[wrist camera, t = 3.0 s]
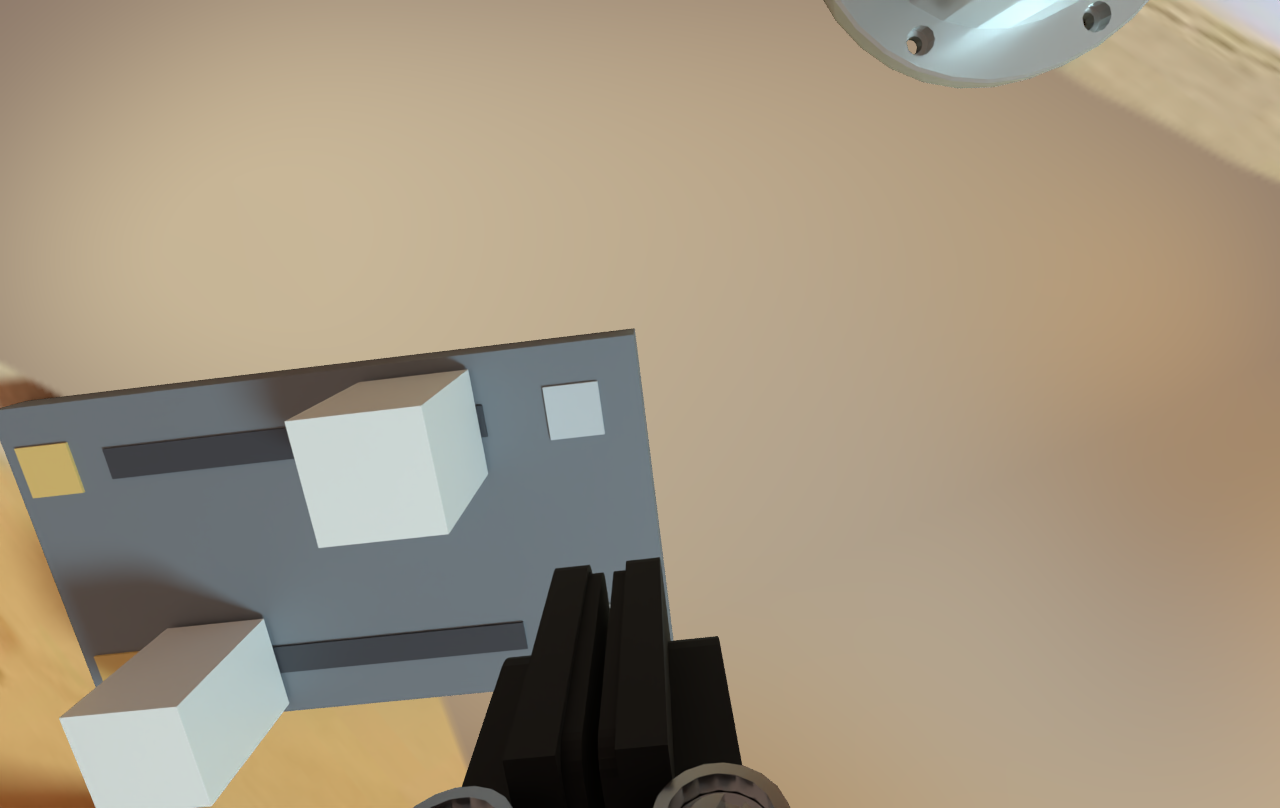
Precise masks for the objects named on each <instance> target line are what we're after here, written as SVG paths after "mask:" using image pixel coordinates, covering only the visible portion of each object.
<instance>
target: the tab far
mask: <svg viewBox="0 0 1280 808" xmlns="http://www.w3.org/2000/svg"><path fill="white" fill-rule="evenodd" d="M288 705H289V701H288V697H287V694H286V691H285V688H284V684H283V681H282V678H281V674H280V671H279V668H278V664H277V661H276V658H275V654H274V651H273V648H272V645H271V641H270V638H269V635H268V631H267V628H266V625H265V621H264V619H256V620H246V621H236V622H226V623H216V624H207V625H197V626H187V627H177V628H167V629H166V630H165V631H163V632H162V633H161V634H160V635H159V636H157V637H156V638H155V639H154V640H153V641H151V642H150V643H149V644H148V645H147V646H145V647H144V648H143V649H142V650H141V651H139V652H138V653H137V654H136V655H134V656H133V657H132V658H131V659H130V660H128V661H127V662H126V663H125V664H124V665H122V666H121V667H120V668H119V669H118V670H116V671H115V672H114V673H113V674H112V675H110V676H109V677H108V678H107V679H106V680H104V681H103V682H102V683H101V684H100V685H98V686H97V687H96V688H95V689H93V690H92V691H91V692H90V693H89V694H87V695H86V696H85V697H84V698H83V699H81V700H80V701H79V702H78V703H77V704H75V705H74V706H73V707H72V708H71V709H69V710H68V711H67V712H66V713H65V714H63V715H62V716H61V717H60V718H59V719H60V722H61V724H62V727H63V729H64V731H65V734H66V736H67V739H68V741H69V744H70V746H71V749H72V751H73V753H74V756H75V758H76V761H77V763H78V766H79V768H80V771H81V773H82V775H83V778H84V780H85V783H86V785H87V788H88V790H89V792H90V795H91V797H92V800H93V802H94V805H95V807H96V808H195V807H207V806H212V805H213V804H214V802H215V801H216V800H217V798H218V797H219V796H220V795H221V793H222V792H223V791H224V789H225V788H226V787H227V785H228V784H229V783H230V781H231V780H232V779H233V777H234V776H235V775H236V773H237V772H238V771H239V769H240V768H241V767H242V766H243V764H244V763H245V762H246V760H247V759H248V758H249V756H250V755H251V754H252V752H253V751H254V750H255V748H256V747H257V746H258V744H259V743H260V742H261V740H262V739H263V738H264V736H265V735H266V734H267V733H268V731H269V730H270V729H271V727H272V726H273V725H274V723H275V722H276V721H277V719H278V718H279V717H280V715H281V714H282V713H283V711H284V710H285V709H286V707H287V706H288Z"/></svg>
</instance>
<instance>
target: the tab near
mask: <svg viewBox="0 0 1280 808" xmlns="http://www.w3.org/2000/svg"><path fill="white" fill-rule="evenodd" d="M284 422H285V426H286V429H287V433H288V437H289V440H290V444H291V448H292V452H293V455H294V459H295V463H296V466H297V470H298V474H299V477H300V481H301V485H302V489H303V492H304V496H305V500H306V503H307V507H308V511H309V514H310V518H311V522H312V526H313V529H314V533H315V537H316V540H317V544H318V548H324V547H334V546H343V545H352V544H362V543H371V542H380V541H390V540H399V539H408V538H418V537H427V536H437V535H446V534H449V533H450V531H451V530H452V528H453V527H454V525H455V524H456V522H457V521H458V519H459V518H460V516H461V515H462V513H463V512H464V510H465V509H466V507H467V506H468V504H469V503H470V501H471V500H472V498H473V496H474V495H475V493H476V492H477V490H478V489H479V487H480V486H481V484H482V483H483V481H484V480H485V478H486V477H487V475H488V470H487V465H486V460H485V454H484V449H483V444H482V439H481V434H480V428H479V423H478V418H477V413H476V408H475V402H474V397H473V392H472V387H471V381H470V376H469V371H468V369H466V370H458V371H449V372H441V373H432V374H424V375H415V376H407V377H398V378H390V379H381V380H373V381H364V382H358V383H356V384H354V385H352V386H351V387H349V388H347V389H345V390H343V391H341V392H339V393H337V394H335V395H334V396H332V397H330V398H328V399H326V400H324V401H322V402H320V403H318V404H317V405H315V406H313V407H311V408H309V409H307V410H305V411H303V412H301V413H300V414H298V415H296V416H294V417H292V418H290V419H288V420H286V421H284Z"/></svg>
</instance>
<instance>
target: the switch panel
mask: <svg viewBox="0 0 1280 808" xmlns="http://www.w3.org/2000/svg"><path fill="white" fill-rule="evenodd" d="M466 369H468V371H469V376H470V381H471V387H472V392H473V397H474V402H475V408H476V413H477V418H478V423H479V428H480V434H481V439H482V444H483V449H484V454H485V460H486V465H487V470H488V475H487V477H486V478H485V480H484V481H483V483H482V484H481V486H480V487H479V489H478V490H477V492H476V493H475V495H474V496H473V498H472V500H471V501H470V503H469V504H468V506H467V507H466V509H465V510H464V512H463V513H462V515H461V516H460V518H459V519H458V521H457V522H456V524H455V525H454V527H453V528H452V530H451V531H450V533H449V534H446V535H437V536H427V537H418V538H408V539H399V540H390V541H380V542H371V543H362V544H352V545H343V546H334V547H324V548H318V544H317V540H316V537H315V533H314V529H313V526H312V522H311V518H310V514H309V511H308V507H307V503H306V500H305V496H304V492H303V489H302V485H301V481H300V477H299V474H298V470H297V466H296V463H295V459H294V455H293V452H292V448H291V444H290V440H289V437H288V433H287V429H286V426H285V422H284V421H286V420H288V419H290V418H292V417H294V416H296V415H298V414H300V413H301V412H303V411H305V410H307V409H309V408H311V407H313V406H315V405H317V404H318V403H320V402H322V401H324V400H326V399H328V398H330V397H332V396H334V395H335V394H337V393H339V392H341V391H343V390H345V389H347V388H349V387H351V386H352V385H354V384H356V383H358V382H364V381H373V380H381V379H390V378H398V377H407V376H415V375H424V374H432V373H441V372H449V371H458V370H466ZM0 441H1V444H2V446H3V449H4V451H5V454H6V456H7V459H8V462H9V464H10V467H11V469H12V472H13V475H14V477H15V480H16V482H17V485H18V487H19V490H20V493H21V495H22V498H23V500H24V503H25V506H26V508H27V511H28V513H29V516H30V518H31V521H32V524H33V526H34V529H35V531H36V534H37V537H38V539H39V542H40V544H41V547H42V549H43V552H44V555H45V557H46V560H47V562H48V565H49V568H50V570H51V573H52V575H53V578H54V580H55V583H56V586H57V588H58V591H59V593H60V596H61V598H62V601H63V604H64V606H65V609H66V611H67V614H68V617H69V619H70V622H71V624H72V627H73V629H74V632H75V635H76V637H77V640H78V642H79V645H80V648H81V650H82V653H83V655H84V658H85V660H86V663H87V666H88V668H89V671H90V673H91V676H92V679H93V681H94V684H95V686H96V687H97V686H98V685H100V684H101V683H102V682H103V681H104V680H106V679H107V678H108V677H109V676H110V675H112V674H113V673H114V672H115V671H116V670H118V669H119V668H120V667H121V666H122V665H124V664H125V663H126V662H127V661H128V660H130V659H131V658H132V657H133V656H134V655H136V654H137V653H138V652H139V651H141V650H142V649H143V648H144V647H145V646H147V645H148V644H149V643H150V642H151V641H153V640H154V639H155V638H156V637H157V636H159V635H160V634H161V633H162V632H163V631H165V630H166V629H167V628H177V627H187V626H197V625H207V624H216V623H226V622H236V621H246V620H256V619H264V621H265V625H266V628H267V631H268V635H269V638H270V641H271V645H272V648H273V651H274V654H275V658H276V661H277V664H278V668H279V671H280V674H281V678H282V681H283V684H284V688H285V691H286V694H287V697H288V701H289V705H288V706H287V707H286V709H285V710H284V711H294V710H305V709H315V708H326V707H336V706H347V705H357V704H368V703H378V702H389V701H399V700H410V699H420V698H430V697H441V696H451V695H462V694H472V693H482V692H493V691H494V689H495V686H496V683H497V680H498V677H499V674H500V671H501V668H502V665H503V663H504V661H505V659H507V658H509V657H519V656H529V655H531V654H532V650H533V646H534V643H535V639H536V635H537V632H538V628H539V624H540V621H541V617H542V613H543V610H544V606H545V602H546V598H547V595H548V591H549V587H550V584H551V580H552V576H553V573H554V570H555V568H563V567H573V566H582V565H590V566H591V569H592V573H604V575H605V580H606V586H607V592H608V599H609V606H610V603H611V592H612V582H613V572H614V571H621V570H625V568H626V561H629V560H638V559H648V558H657V557H660V560H661V566H662V574H663V582H664V590H665V598H666V606H667V614H668V622H669V630H670V638H671V641H673V633H672V625H671V617H670V609H669V602H668V593H667V586H666V577H665V569H664V562H663V553H662V545H661V538H660V529H659V521H658V513H657V505H656V497H655V490H654V481H653V473H652V465H651V457H650V449H649V440H648V433H647V424H646V416H645V409H644V401H643V392H642V385H641V376H640V368H639V360H638V353H637V344H636V336H635V329H626V330H618V331H609V332H601V333H592V334H584V335H576V336H567V337H559V338H551V339H542V340H534V341H525V342H518V343H509V344H501V345H493V346H484V347H475V348H467V349H458V350H450V351H442V352H433V353H425V354H416V355H408V356H400V357H392V358H383V359H376V360H375V359H374V360H366V361H358V362H350V363H341V364H333V365H324V366H316V367H308V368H299V369H291V370H282V371H274V372H266V373H258V374H249V375H241V376H232V377H224V378H215V379H208V380H198V381H190V382H182V383H173V384H165V385H157V386H148V387H140V388H132V389H123V390H115V391H106V392H98V393H90V394H82V395H73V396H64V397H56V398H48V399H39V400H31V401H25V402H21V403H17V404H14V405H10V406H6V407H3V408H0ZM284 711H283V712H284Z"/></svg>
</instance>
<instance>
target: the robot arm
mask: <svg viewBox="0 0 1280 808" xmlns="http://www.w3.org/2000/svg"><path fill="white" fill-rule="evenodd" d="M1148 1H1149V0H824V2H825V3H826V5H827V7H828V8H829V10H830V12H831V13H832V15H833V17H834V18H835V20H836V21H837V22H838V23H839V25H840V26H841V27H842V28H843V29H844V30H845V31H846V32H847V33H848V34H849V35H850V36H851V37H852V38H853V40H854V41H855V42H856V43H857V44H858V45H859V46H860V47H861V48H862V49H863V50H865V51H866V52H868V53H869V54H871V55H872V56H873V57H875V58H876V59H878V60H879V61H880V62H882V63H883V64H885V65H886V66H888V67H889V68H891V69H893V70H895V71H898V72H900V73H903V74H905V75H907V76H910V77H912V78H915V79H917V80H919V81H922V82H926V83H931V84H937V85H943V86H949V87H954V88H977V87H978V88H979V87H995V86H1000V85H1004V84H1009V83H1013V82H1017V81H1021V80H1026V79H1030V78H1032V77H1035V76H1037V75H1040V74H1042V73H1044V72H1047V71H1050V70H1052V69H1055V68H1058V67H1060V66H1063V65H1065V64H1066V63H1068V62H1070V61H1072V60H1074V59H1075V58H1077V57H1079V56H1081V55H1083V54H1085V53H1086V52H1088V51H1090V50H1092V49H1094V48H1095V47H1097V46H1099V45H1100V44H1101V43H1102V42H1104V41H1105V40H1106V39H1107V38H1109V37H1110V36H1111V35H1113V34H1114V33H1115V32H1116V31H1118V30H1119V29H1120V28H1121V27H1123V26H1124V25H1125V24H1126V23H1128V22H1129V21H1130V20H1131V19H1132V18H1133V17H1134V16H1135V15H1136V14H1137V13H1138V12H1139V11H1140V10H1141V8H1142V7H1143V6H1144V5H1145V4H1146V3H1147V2H1148ZM1083 19H1084V20H1085V24H1086V26H1085V27H1084V24H1083ZM908 40H912V41H914V42H915V43H916V45H917V51H916V53H915V54H912V53H911V52H910V51H909V50H908V47H907V43H906V42H907V41H908ZM414 808H790V806H789V804H788V802H787V800H786V799H785V797H784V796H783V794H782V793H781V791H780V789H779V788H778V786H777V785H775V784H774V783H773V782H772V781H770V780H769V779H768V778H767V777H765V776H764V775H763V774H762V773H759V772H757V771H754V770H753V769H750V768H748V767H746V766H743V765H742V762H741V756H740V752H739V745H738V741H737V735H736V730H735V723H734V718H733V713H732V708H731V702H730V696H729V691H728V685H727V680H726V674H725V669H724V663H723V658H722V653H721V647H720V641H719V638H718V636H715V637H705V638H696V639H686V640H676V641H671V638H670V630H669V622H668V614H667V606H666V598H665V590H664V582H663V574H662V566H661V560H660V557H657V558H648V559H638V560H629V561H626V568H625V570H621V571H614V572H613V582H612V592H611V603H610V606H609V599H608V592H607V586H606V580H605V575H604V573H592V569H591V566H590V565H582V566H573V567H563V568H555V570H554V573H553V576H552V580H551V584H550V587H549V591H548V595H547V598H546V602H545V606H544V610H543V613H542V617H541V621H540V624H539V628H538V632H537V635H536V639H535V643H534V646H533V650H532V654H531V655H529V656H519V657H509V658H507V659H505V661H504V663H503V665H502V668H501V671H500V674H499V677H498V680H497V683H496V686H495V689H494V692H493V695H492V698H491V701H490V704H489V707H488V710H487V713H486V716H485V719H484V722H483V725H482V728H481V731H480V734H479V737H478V740H477V743H476V746H475V749H474V752H473V755H472V758H471V761H470V764H469V767H468V770H467V773H466V776H465V779H464V782H463V785H462V787H459V788H453V789H450V790H447V791H444V792H441V793H439V794H436V795H433V796H432V797H430V798H428V799H427V800H425V801H423V802H421V803H420V804H418V805H416V806H415V807H414Z"/></svg>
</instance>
